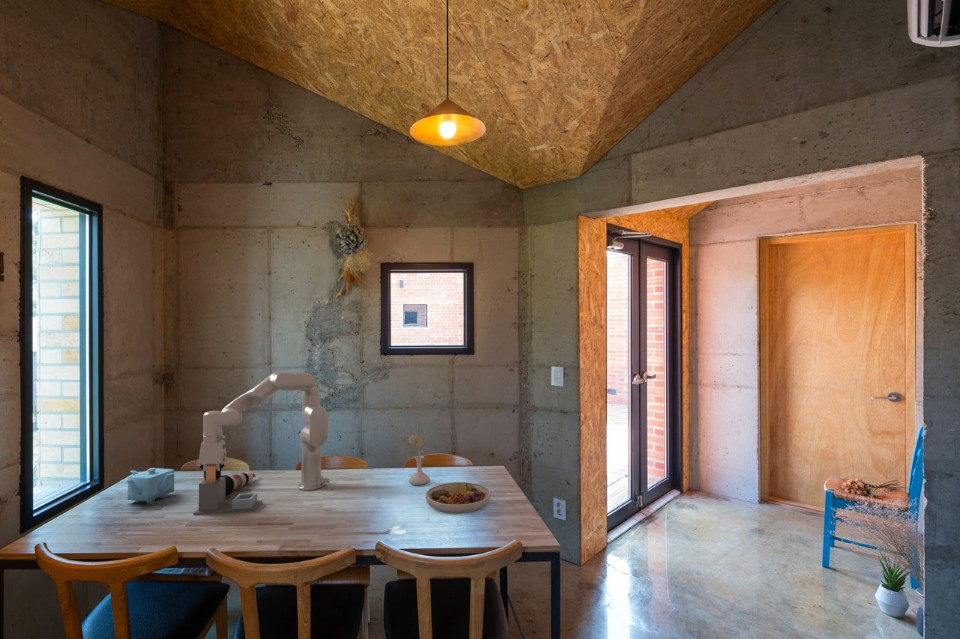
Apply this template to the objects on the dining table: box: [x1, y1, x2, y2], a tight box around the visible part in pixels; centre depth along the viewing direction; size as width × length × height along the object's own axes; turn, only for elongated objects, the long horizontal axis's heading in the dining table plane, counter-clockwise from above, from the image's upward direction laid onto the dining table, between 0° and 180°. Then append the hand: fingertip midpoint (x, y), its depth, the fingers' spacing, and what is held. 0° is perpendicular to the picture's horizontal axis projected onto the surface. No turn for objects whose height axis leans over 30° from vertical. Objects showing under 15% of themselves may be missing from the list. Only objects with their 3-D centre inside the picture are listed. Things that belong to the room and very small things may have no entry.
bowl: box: [425, 481, 491, 515], centre depth 213 cm, size 30×30×8 cm
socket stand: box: [192, 477, 263, 516], centre depth 208 cm, size 25×11×13 cm, turn 99°
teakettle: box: [124, 467, 175, 505], centre depth 220 cm, size 19×19×15 cm
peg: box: [206, 464, 219, 483], centre depth 207 cm, size 4×4×10 cm
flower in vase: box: [408, 434, 431, 486], centre depth 242 cm, size 13×11×25 cm
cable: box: [220, 471, 256, 497], centre depth 232 cm, size 10×34×10 cm, turn 174°
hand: (212, 478), depth 207 cm, fingers closed on peg, 4 cm apart
